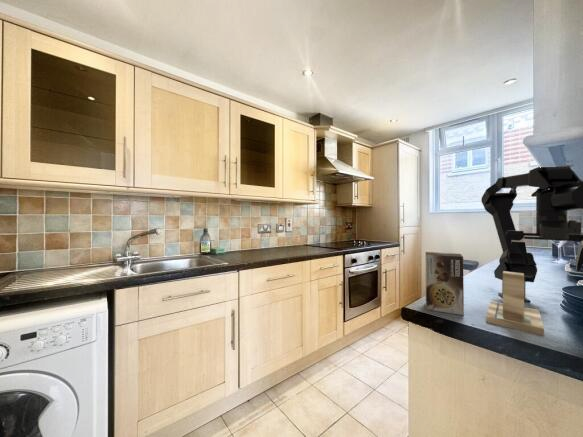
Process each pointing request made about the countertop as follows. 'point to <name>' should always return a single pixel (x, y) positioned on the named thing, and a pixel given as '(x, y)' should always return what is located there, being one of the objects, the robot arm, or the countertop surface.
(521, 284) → the wooden block
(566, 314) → the countertop surface
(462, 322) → the countertop surface
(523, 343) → the countertop surface
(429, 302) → the food box
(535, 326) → the maple board
